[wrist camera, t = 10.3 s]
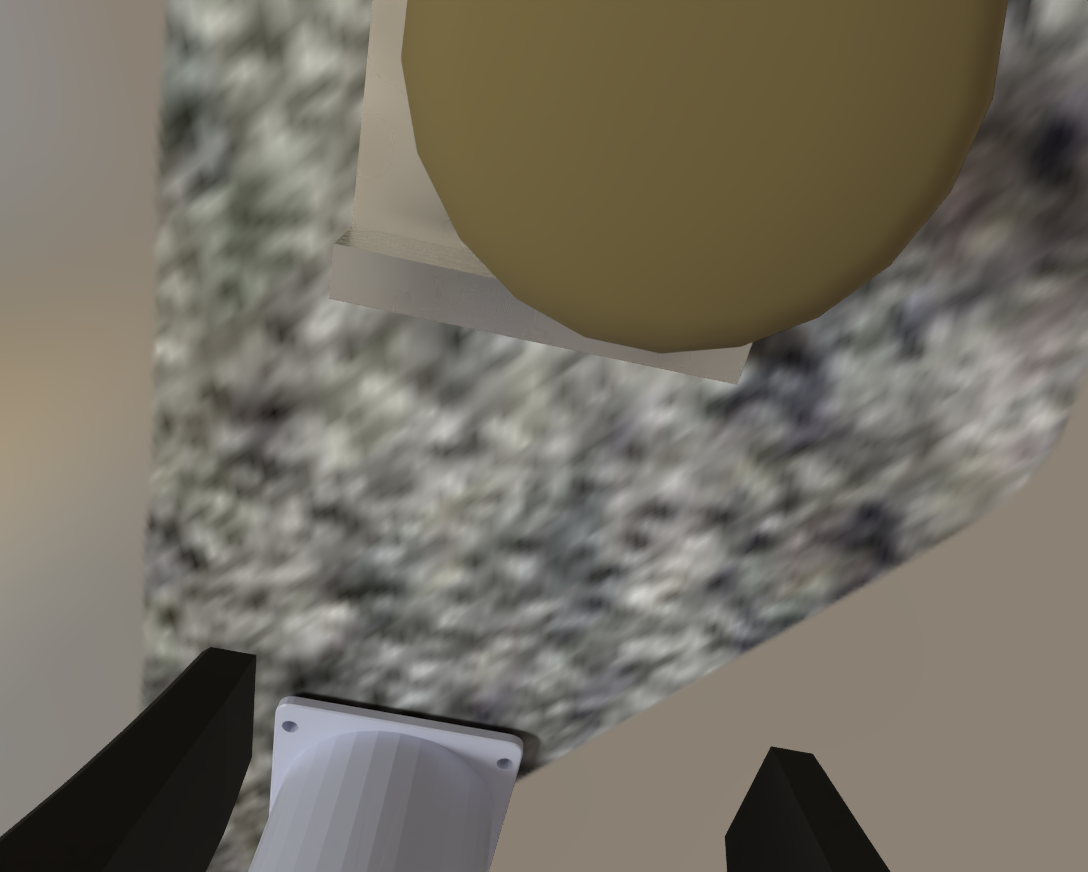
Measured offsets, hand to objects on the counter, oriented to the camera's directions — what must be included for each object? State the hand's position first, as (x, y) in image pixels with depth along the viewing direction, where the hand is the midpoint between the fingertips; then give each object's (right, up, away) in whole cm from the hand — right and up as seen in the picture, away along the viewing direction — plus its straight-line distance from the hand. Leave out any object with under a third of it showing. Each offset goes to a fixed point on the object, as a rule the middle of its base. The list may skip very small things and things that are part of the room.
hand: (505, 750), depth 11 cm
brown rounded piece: (+2, +12, +5) cm, 13 cm away
